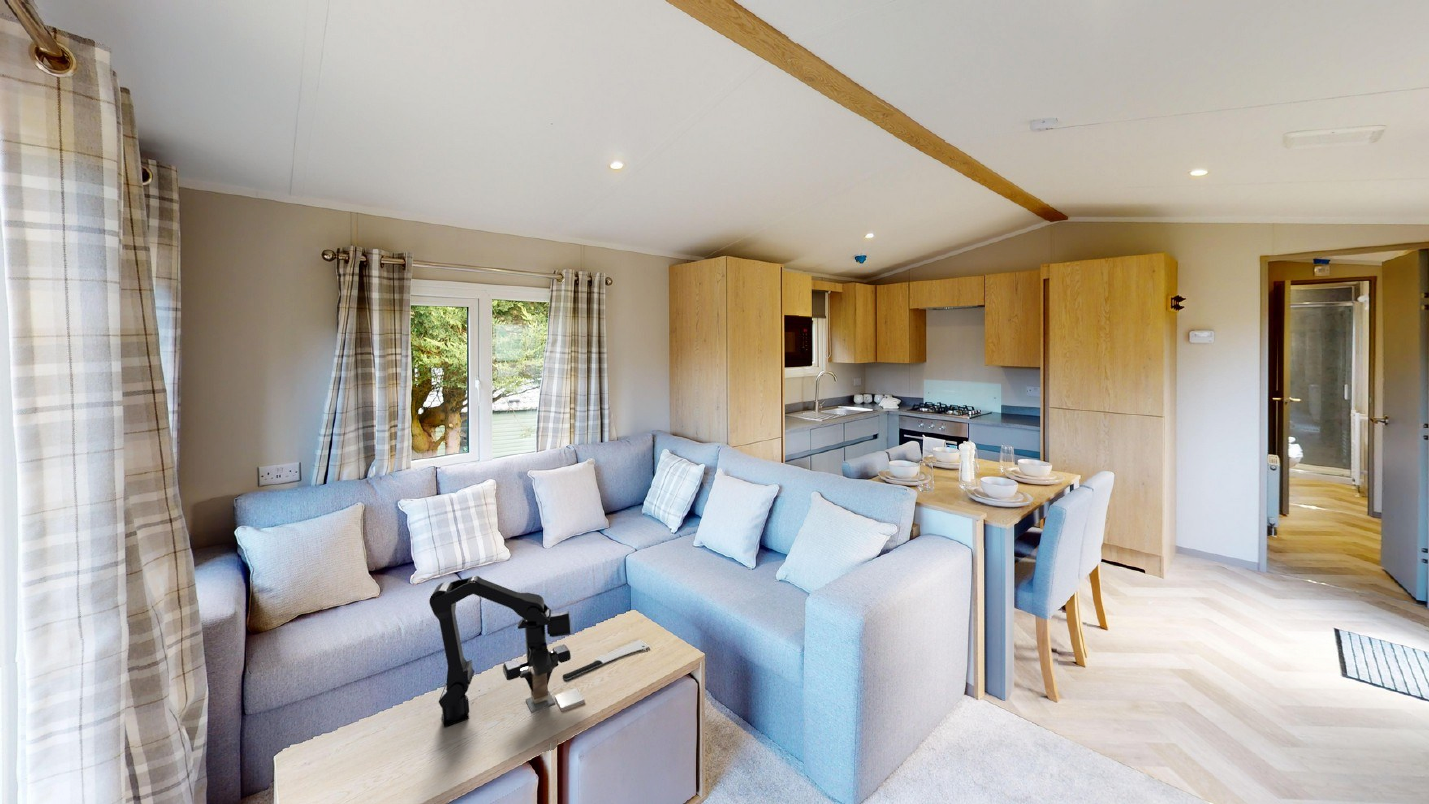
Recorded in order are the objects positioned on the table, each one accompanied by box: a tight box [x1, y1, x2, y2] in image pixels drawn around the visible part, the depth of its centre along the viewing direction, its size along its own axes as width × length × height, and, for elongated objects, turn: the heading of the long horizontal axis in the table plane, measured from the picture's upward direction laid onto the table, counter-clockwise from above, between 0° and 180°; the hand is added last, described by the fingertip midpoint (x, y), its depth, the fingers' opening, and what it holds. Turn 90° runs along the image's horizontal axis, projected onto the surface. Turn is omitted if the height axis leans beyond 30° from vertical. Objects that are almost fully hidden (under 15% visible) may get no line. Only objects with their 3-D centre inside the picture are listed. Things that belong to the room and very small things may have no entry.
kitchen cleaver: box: [562, 639, 650, 682], centre depth 185 cm, size 31×2×10 cm
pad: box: [525, 690, 556, 713], centre depth 163 cm, size 7×7×1 cm
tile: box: [554, 687, 586, 712], centre depth 163 cm, size 7×2×7 cm
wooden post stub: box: [529, 667, 549, 704], centre depth 163 cm, size 4×4×9 cm
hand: (539, 688), depth 163 cm, fingers closed on wooden post stub, 4 cm apart
